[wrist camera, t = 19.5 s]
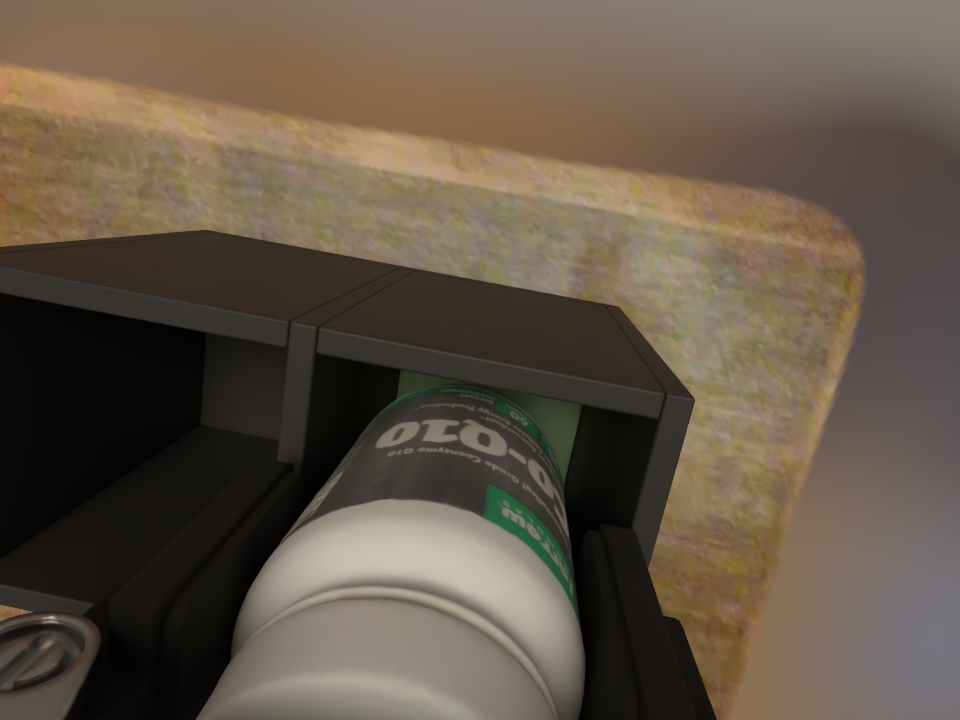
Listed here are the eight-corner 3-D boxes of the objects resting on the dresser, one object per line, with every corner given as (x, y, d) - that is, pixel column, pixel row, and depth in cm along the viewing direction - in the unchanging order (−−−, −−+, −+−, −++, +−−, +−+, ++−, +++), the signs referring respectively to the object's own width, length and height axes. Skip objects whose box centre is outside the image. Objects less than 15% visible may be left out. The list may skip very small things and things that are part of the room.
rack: (193, 429, 22) (-54, 595, 13) (205, 229, 20) (-72, 252, 11) (572, 505, 21) (603, 734, 12) (619, 306, 20) (697, 399, 10)
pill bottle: (602, 450, 14) (722, 819, 5) (488, 606, 15) (447, 1102, 7) (418, 336, 13) (252, 548, 5) (315, 504, 14) (48, 896, 6)
